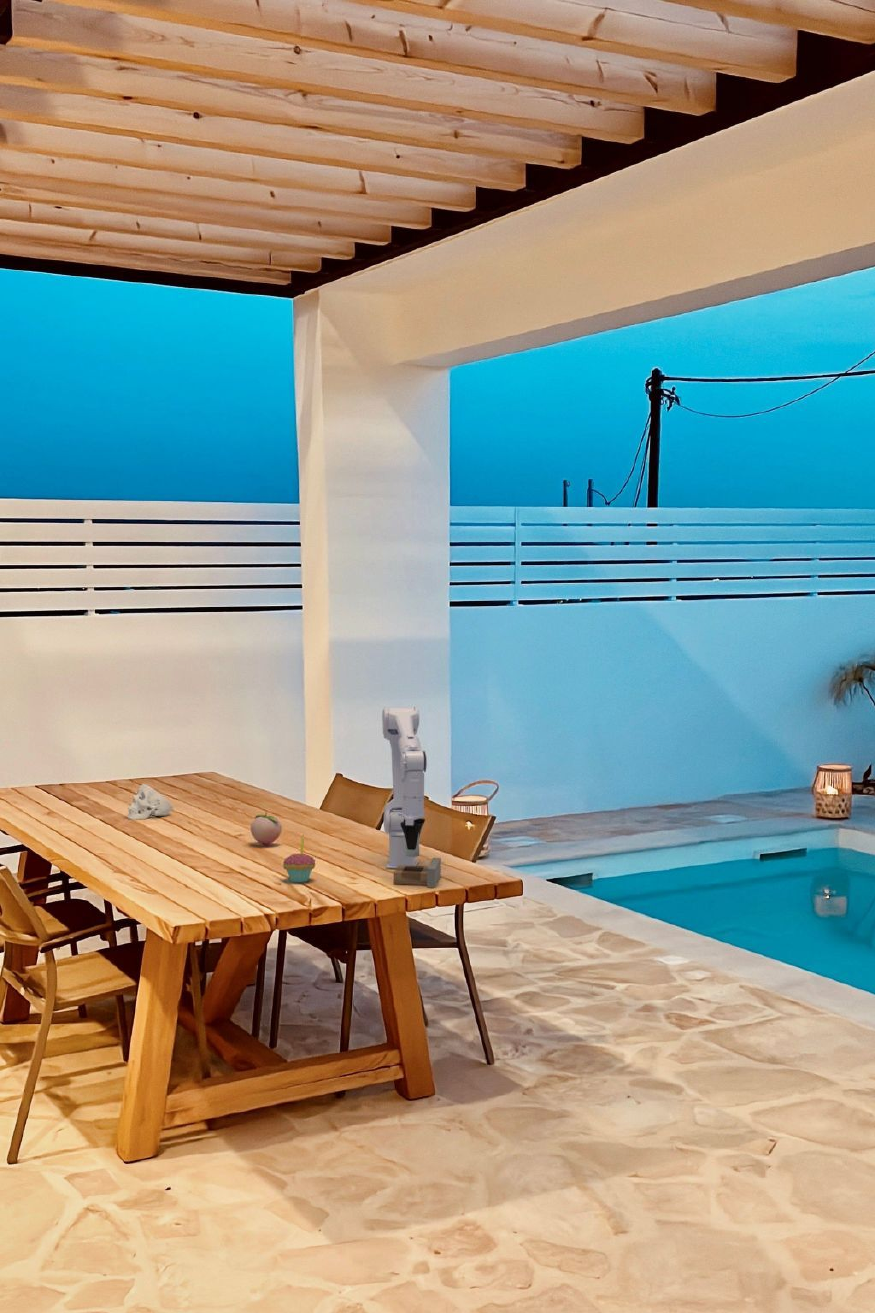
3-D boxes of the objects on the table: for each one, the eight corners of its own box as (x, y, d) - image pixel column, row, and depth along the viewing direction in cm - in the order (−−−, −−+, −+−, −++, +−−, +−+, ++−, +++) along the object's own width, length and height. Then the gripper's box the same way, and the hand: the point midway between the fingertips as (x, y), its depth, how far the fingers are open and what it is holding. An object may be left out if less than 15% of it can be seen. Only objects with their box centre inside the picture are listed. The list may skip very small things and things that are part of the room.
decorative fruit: (244, 846, 392) (244, 813, 391) (260, 842, 399) (260, 809, 399) (270, 849, 387) (270, 816, 387) (286, 845, 395) (286, 811, 394)
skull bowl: (116, 813, 439) (135, 780, 442) (149, 832, 446) (168, 799, 449) (128, 817, 430) (147, 784, 434) (162, 836, 437) (181, 803, 441)
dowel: (406, 853, 350) (406, 827, 349) (419, 854, 349) (419, 827, 349) (404, 856, 346) (404, 830, 346) (418, 856, 346) (418, 830, 345)
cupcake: (292, 876, 353) (292, 831, 352) (321, 878, 350) (321, 833, 349) (277, 882, 345) (277, 837, 344) (306, 885, 342) (306, 839, 341)
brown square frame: (398, 876, 353) (398, 865, 353) (432, 877, 352) (432, 866, 352) (393, 883, 344) (393, 872, 344) (428, 885, 343) (428, 873, 343)
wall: (433, 876, 354) (433, 857, 354) (440, 876, 354) (440, 857, 354) (426, 887, 341) (427, 868, 340) (434, 888, 340) (434, 868, 340)
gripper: (401, 791, 355) (401, 842, 355) (394, 800, 340) (393, 852, 341) (428, 792, 354) (427, 843, 354) (421, 801, 339) (420, 853, 340)
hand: (412, 848), depth 348 cm, fingers closed on dowel, 4 cm apart
